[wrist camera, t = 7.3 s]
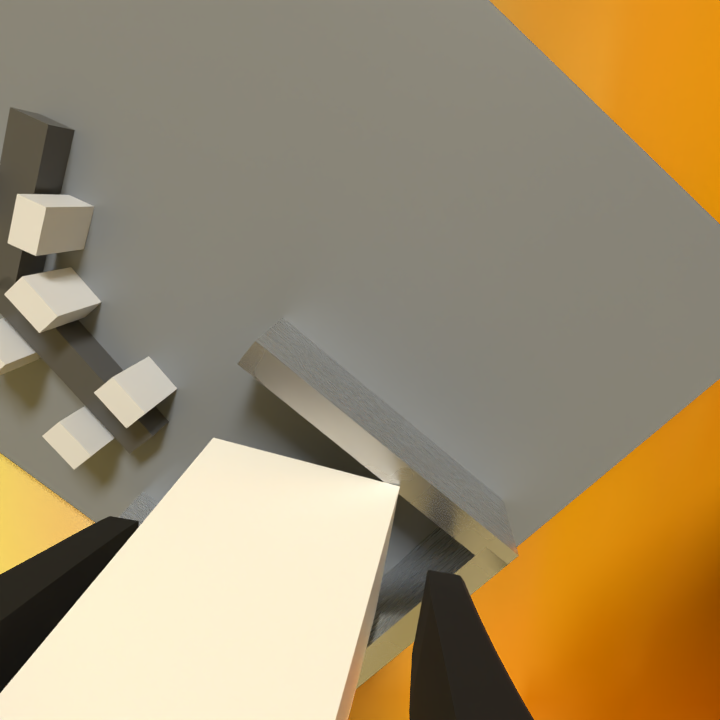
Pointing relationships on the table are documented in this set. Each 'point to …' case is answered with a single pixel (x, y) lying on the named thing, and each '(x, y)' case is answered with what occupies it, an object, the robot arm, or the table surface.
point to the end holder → (394, 466)
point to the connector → (224, 601)
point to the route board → (331, 246)
